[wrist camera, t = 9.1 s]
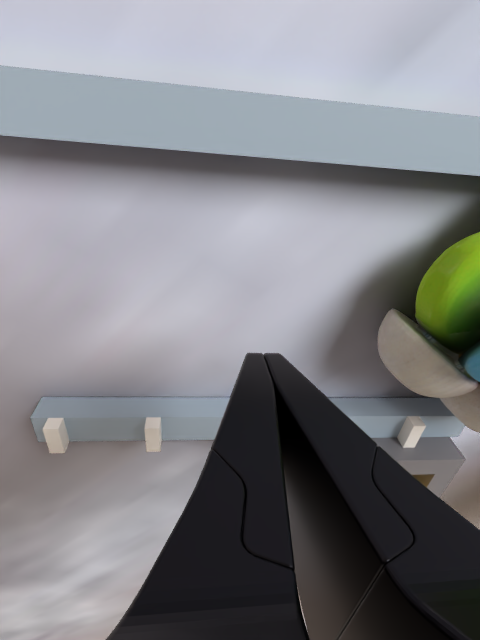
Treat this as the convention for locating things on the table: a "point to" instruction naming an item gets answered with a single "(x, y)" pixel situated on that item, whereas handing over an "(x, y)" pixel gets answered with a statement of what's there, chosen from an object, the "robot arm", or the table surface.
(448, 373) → the multicoloured petal shapes
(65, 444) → the rail
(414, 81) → the table surface
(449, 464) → the dome housing
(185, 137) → the rail
